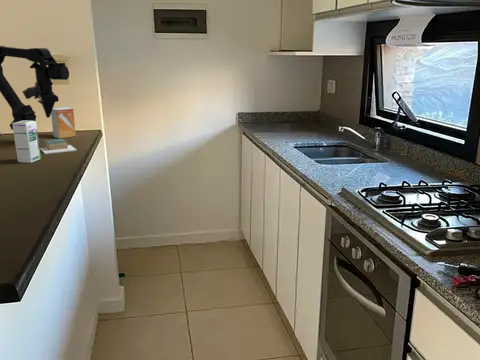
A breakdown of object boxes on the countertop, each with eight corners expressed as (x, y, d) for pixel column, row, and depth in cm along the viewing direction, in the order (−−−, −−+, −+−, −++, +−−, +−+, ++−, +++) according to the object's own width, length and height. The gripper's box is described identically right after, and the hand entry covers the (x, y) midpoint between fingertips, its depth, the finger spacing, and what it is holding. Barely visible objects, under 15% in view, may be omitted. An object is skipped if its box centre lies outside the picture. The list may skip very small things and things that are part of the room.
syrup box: (31, 163, 166) (26, 122, 162) (17, 162, 167) (11, 122, 163) (41, 159, 171) (36, 120, 167) (27, 158, 172) (22, 119, 168)
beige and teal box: (44, 140, 189) (48, 143, 182) (62, 138, 192) (67, 141, 186) (45, 146, 190) (49, 150, 183) (63, 145, 193) (67, 148, 187)
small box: (59, 138, 209) (56, 109, 205) (53, 136, 213) (50, 108, 209) (76, 136, 214) (73, 108, 211) (70, 134, 219) (67, 106, 215)
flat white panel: (39, 149, 188) (39, 148, 187) (70, 146, 194) (70, 144, 194) (44, 154, 180) (44, 152, 179) (76, 150, 186) (76, 149, 186)
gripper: (18, 79, 193) (23, 116, 198) (26, 81, 178) (31, 122, 183) (46, 78, 199) (51, 114, 204) (56, 80, 184) (61, 119, 189)
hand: (48, 117), depth 194 cm, fingers closed
